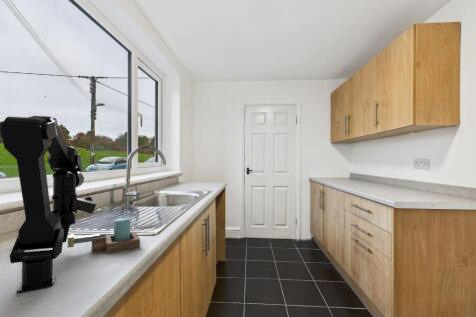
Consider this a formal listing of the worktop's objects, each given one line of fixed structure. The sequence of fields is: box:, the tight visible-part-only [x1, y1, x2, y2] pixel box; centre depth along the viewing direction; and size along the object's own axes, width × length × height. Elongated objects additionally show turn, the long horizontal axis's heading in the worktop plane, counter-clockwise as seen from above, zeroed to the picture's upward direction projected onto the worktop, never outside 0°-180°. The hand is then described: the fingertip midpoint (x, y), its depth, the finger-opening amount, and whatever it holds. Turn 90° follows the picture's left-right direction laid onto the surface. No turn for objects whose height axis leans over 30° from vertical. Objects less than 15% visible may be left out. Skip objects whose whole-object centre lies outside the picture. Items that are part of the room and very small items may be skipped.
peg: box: [113, 217, 131, 242], centre depth 85 cm, size 5×5×9 cm
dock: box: [91, 231, 141, 255], centre depth 84 cm, size 10×14×4 cm
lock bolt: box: [67, 233, 101, 248], centre depth 79 cm, size 3×8×3 cm, turn 121°
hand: (64, 242), depth 76 cm, fingers closed, pressing on lock bolt
